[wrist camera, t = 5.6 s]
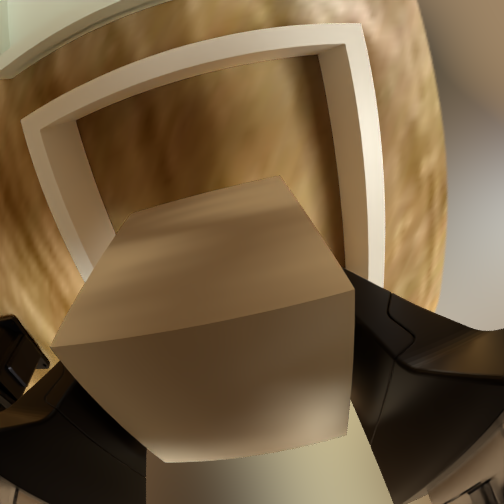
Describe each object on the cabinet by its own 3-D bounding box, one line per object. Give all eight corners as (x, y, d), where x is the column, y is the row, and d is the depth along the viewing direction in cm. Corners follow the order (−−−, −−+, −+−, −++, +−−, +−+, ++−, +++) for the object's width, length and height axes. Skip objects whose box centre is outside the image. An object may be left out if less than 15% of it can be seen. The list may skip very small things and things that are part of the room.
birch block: (179, 325, 12) (165, 462, 6) (130, 213, 9) (49, 347, 4) (300, 298, 12) (346, 435, 6) (279, 175, 9) (354, 288, 4)
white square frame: (145, 324, 21) (135, 364, 17) (58, 112, 13) (20, 120, 10) (358, 276, 21) (381, 311, 17) (330, 37, 13) (360, 23, 9)
